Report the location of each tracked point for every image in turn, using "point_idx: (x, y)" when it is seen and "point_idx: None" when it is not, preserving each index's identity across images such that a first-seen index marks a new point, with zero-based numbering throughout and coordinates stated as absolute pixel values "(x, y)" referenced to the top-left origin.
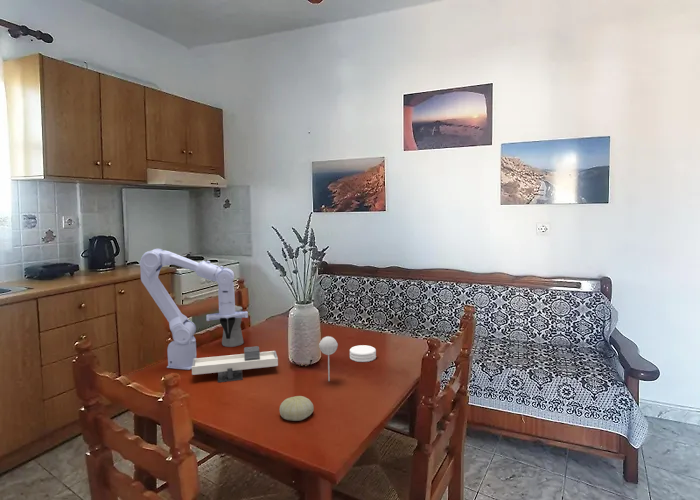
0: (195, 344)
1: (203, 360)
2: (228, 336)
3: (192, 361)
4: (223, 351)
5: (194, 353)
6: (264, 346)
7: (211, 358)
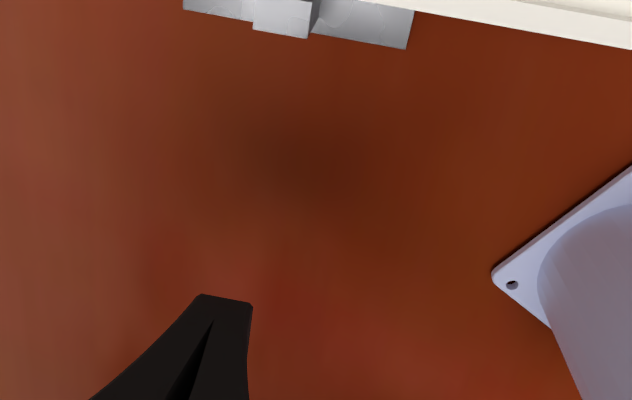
0: (625, 390)
1: (626, 18)
2: (211, 316)
3: (616, 235)
4: (292, 391)
5: (614, 296)
6: (11, 352)
7: (524, 3)
